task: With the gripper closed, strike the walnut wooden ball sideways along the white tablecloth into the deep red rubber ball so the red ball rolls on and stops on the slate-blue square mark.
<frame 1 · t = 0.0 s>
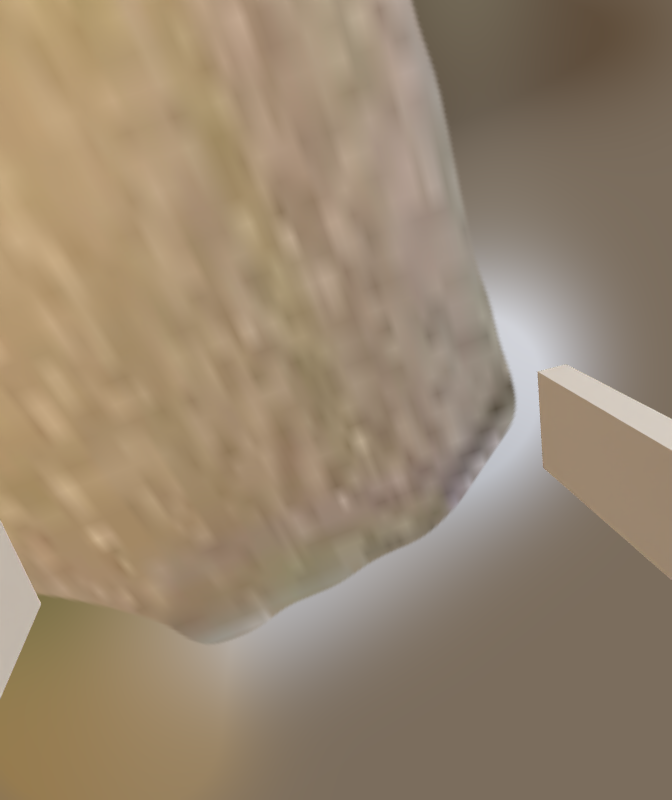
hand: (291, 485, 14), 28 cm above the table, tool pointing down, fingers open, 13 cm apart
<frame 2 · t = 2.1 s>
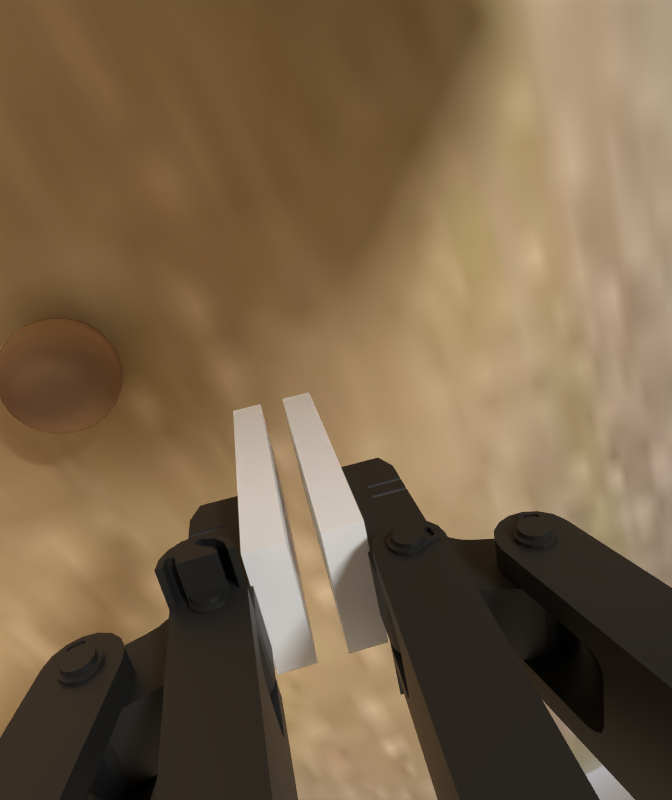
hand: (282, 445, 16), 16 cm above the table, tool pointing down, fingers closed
brown ball: (61, 376, 28), on the table
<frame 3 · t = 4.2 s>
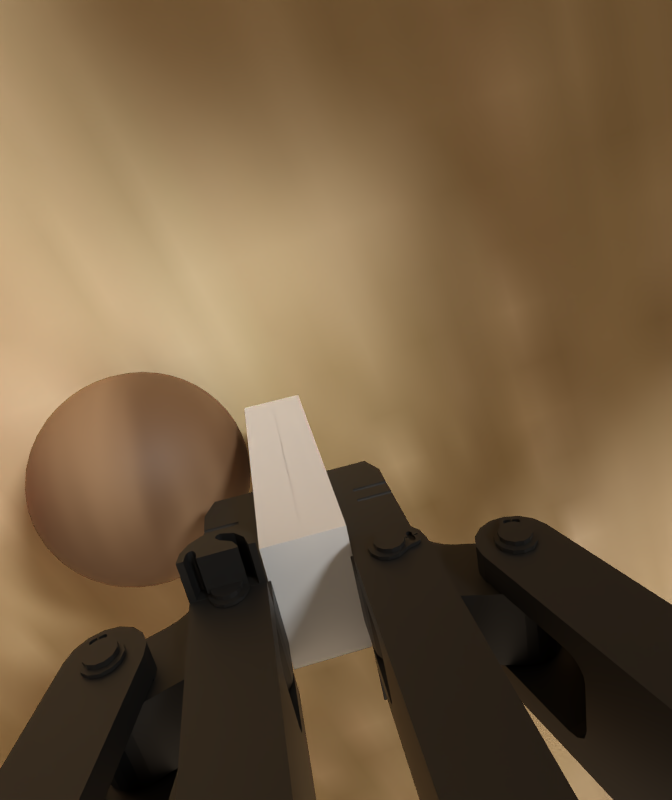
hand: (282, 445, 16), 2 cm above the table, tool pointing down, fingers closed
brown ball: (144, 477, 15), on the table
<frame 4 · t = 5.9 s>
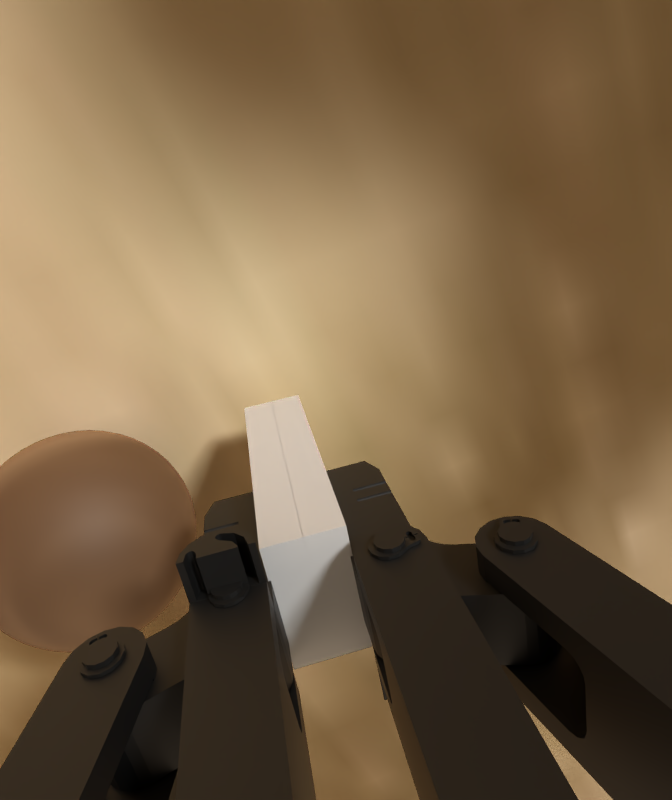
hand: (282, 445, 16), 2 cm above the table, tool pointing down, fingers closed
brown ball: (87, 536, 15), on the table
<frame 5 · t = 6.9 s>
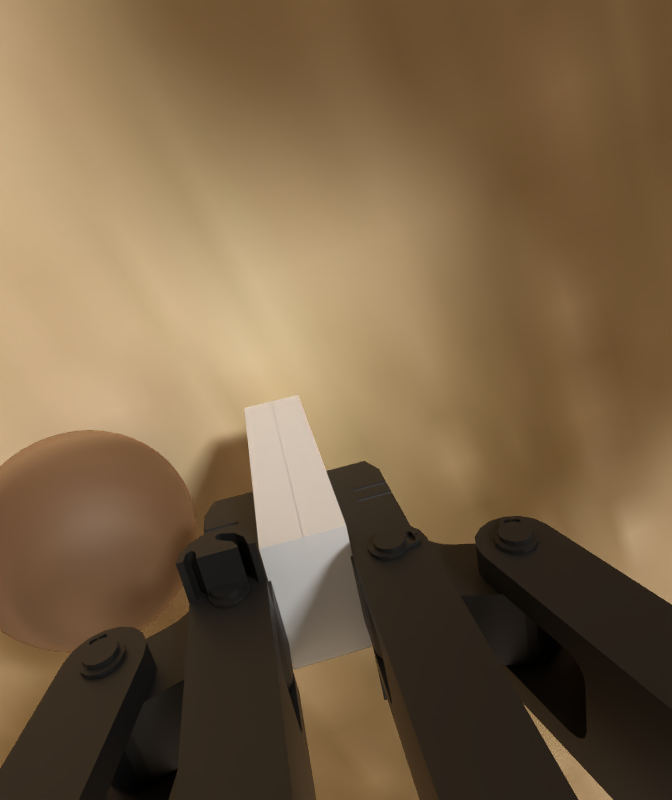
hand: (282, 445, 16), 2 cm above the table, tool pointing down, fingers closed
brown ball: (87, 536, 15), on the table
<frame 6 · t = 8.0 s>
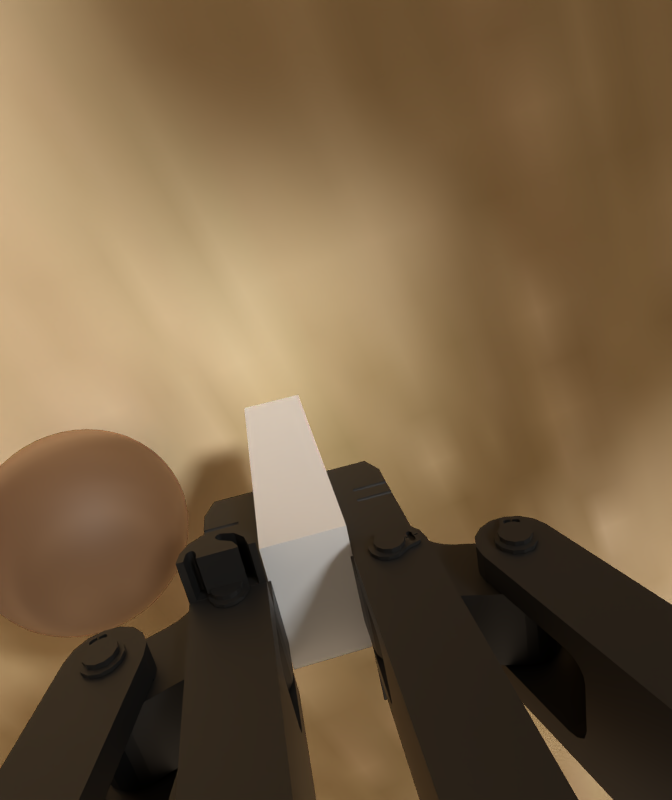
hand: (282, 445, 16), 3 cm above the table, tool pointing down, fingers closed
brown ball: (85, 529, 16), on the table
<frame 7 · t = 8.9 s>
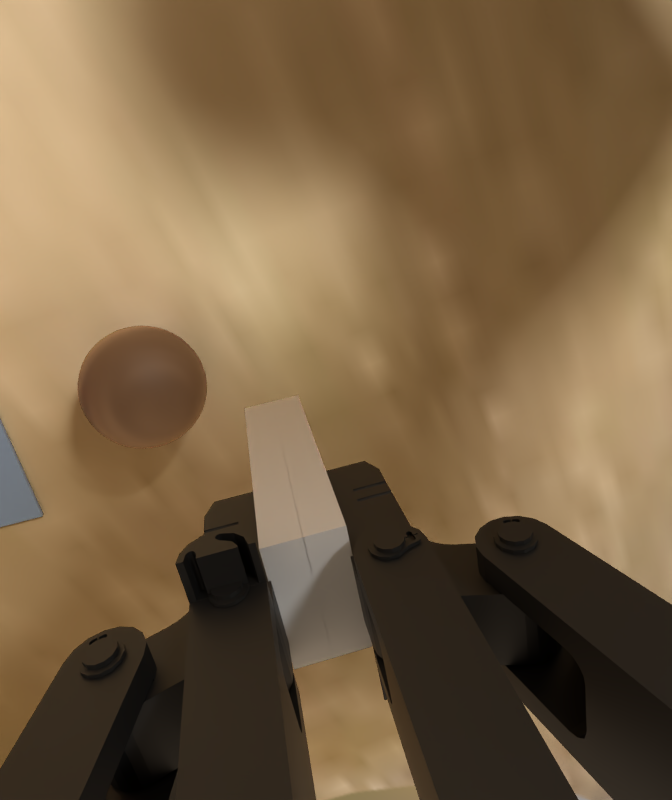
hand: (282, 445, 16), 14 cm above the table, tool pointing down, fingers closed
brown ball: (144, 387, 26), on the table
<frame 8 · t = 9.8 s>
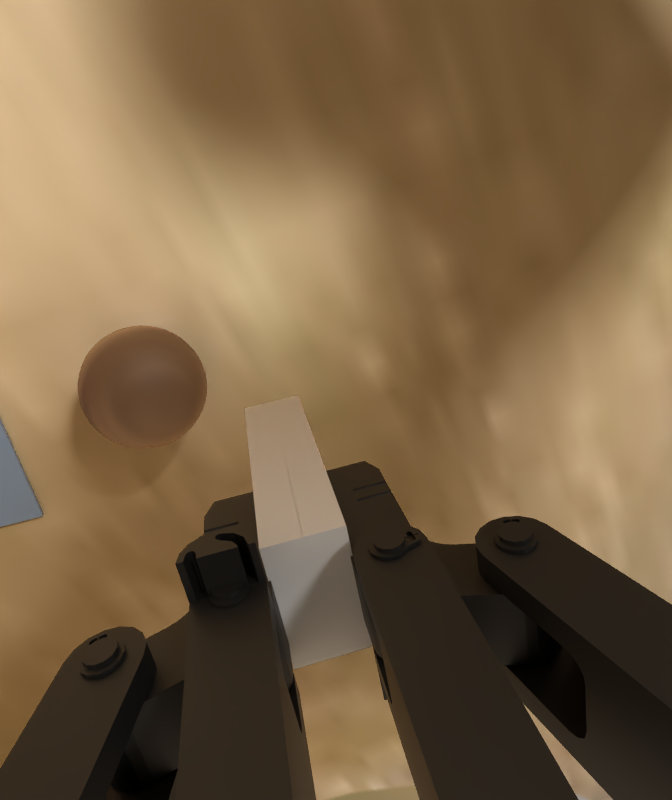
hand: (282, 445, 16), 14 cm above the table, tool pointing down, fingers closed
brown ball: (144, 387, 26), on the table
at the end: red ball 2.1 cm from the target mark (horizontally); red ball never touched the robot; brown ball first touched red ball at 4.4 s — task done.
